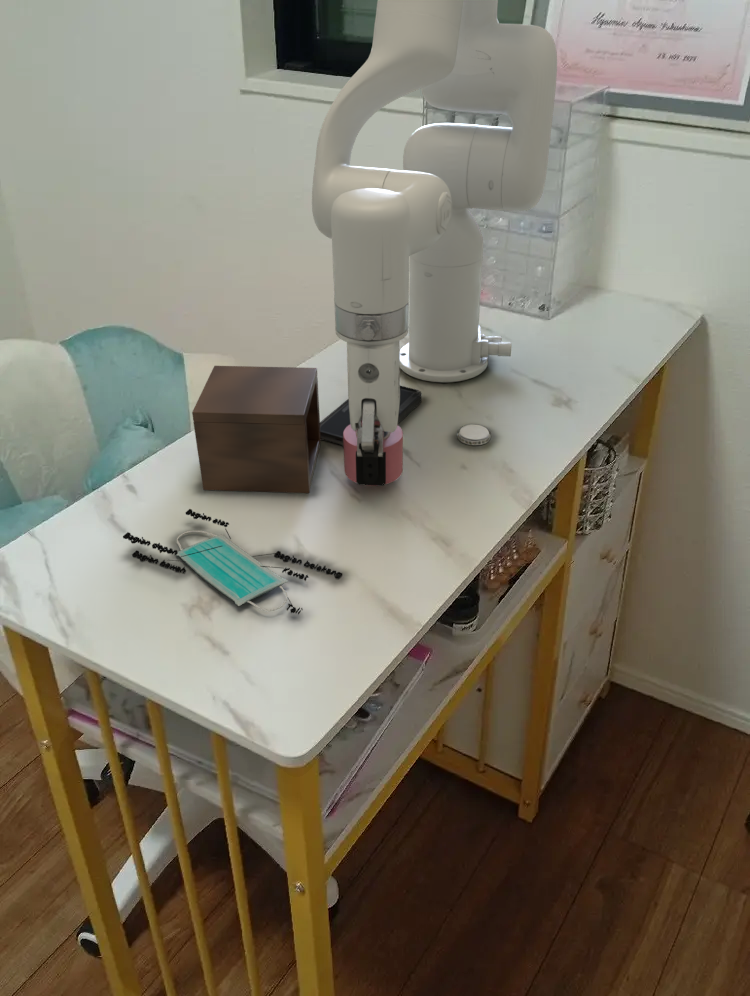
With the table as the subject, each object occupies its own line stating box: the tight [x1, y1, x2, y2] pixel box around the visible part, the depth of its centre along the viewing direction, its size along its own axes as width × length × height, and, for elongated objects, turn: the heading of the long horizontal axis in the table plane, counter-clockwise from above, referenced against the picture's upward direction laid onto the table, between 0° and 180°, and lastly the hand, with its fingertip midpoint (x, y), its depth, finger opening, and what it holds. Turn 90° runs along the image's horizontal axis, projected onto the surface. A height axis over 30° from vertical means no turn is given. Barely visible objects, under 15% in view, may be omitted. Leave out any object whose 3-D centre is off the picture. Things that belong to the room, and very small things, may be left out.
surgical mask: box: [122, 508, 343, 616], centre depth 89 cm, size 21×4×10 cm
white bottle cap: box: [457, 423, 492, 446], centre depth 110 cm, size 4×4×1 cm
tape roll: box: [343, 421, 404, 487], centre depth 101 cm, size 7×7×5 cm
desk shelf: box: [191, 365, 322, 494], centre depth 103 cm, size 12×11×10 cm
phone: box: [320, 385, 422, 447], centre depth 114 cm, size 8×1×15 cm
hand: (373, 464), depth 102 cm, fingers closed on tape roll, 6 cm apart
